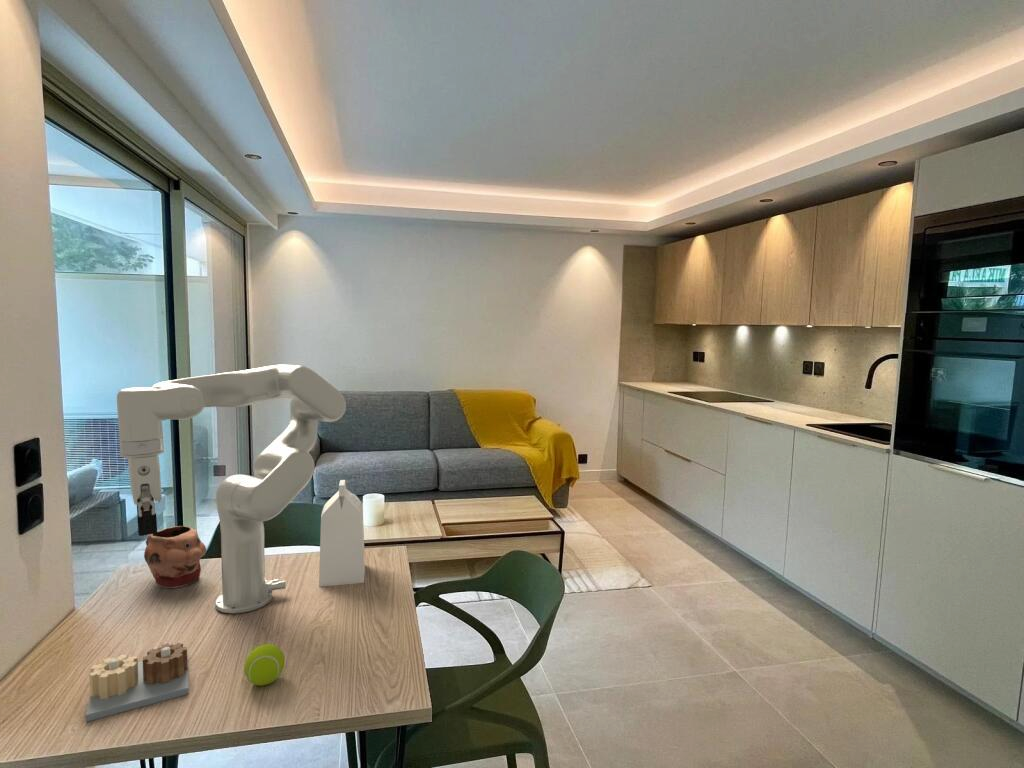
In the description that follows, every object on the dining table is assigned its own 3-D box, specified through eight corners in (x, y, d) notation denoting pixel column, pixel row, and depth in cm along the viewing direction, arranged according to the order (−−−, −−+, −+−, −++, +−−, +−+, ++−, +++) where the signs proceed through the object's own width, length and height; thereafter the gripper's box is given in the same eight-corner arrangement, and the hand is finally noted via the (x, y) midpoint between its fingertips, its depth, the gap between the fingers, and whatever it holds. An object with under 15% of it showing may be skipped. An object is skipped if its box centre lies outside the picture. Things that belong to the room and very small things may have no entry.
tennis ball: (246, 675, 108) (245, 640, 107) (285, 668, 110) (284, 634, 110) (243, 697, 101) (242, 660, 101) (284, 689, 104) (283, 653, 103)
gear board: (187, 656, 114) (186, 627, 113) (188, 693, 102) (187, 662, 101) (96, 678, 106) (94, 647, 105) (85, 721, 94) (84, 688, 93)
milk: (322, 568, 158) (321, 478, 156) (364, 564, 161) (364, 476, 159) (318, 586, 146) (317, 489, 144) (364, 582, 149) (363, 487, 147)
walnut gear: (187, 658, 111) (186, 639, 110) (187, 677, 105) (187, 657, 104) (144, 669, 107) (143, 649, 107) (142, 689, 101) (141, 668, 101)
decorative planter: (123, 585, 145) (121, 533, 144) (164, 567, 157) (163, 518, 156) (183, 596, 139) (181, 542, 138) (221, 577, 151) (220, 527, 150)
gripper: (165, 452, 110) (170, 536, 112) (161, 438, 125) (166, 512, 126) (119, 457, 106) (125, 544, 108) (120, 442, 120) (125, 518, 122)
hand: (147, 527), depth 117 cm, fingers open, 9 cm apart
